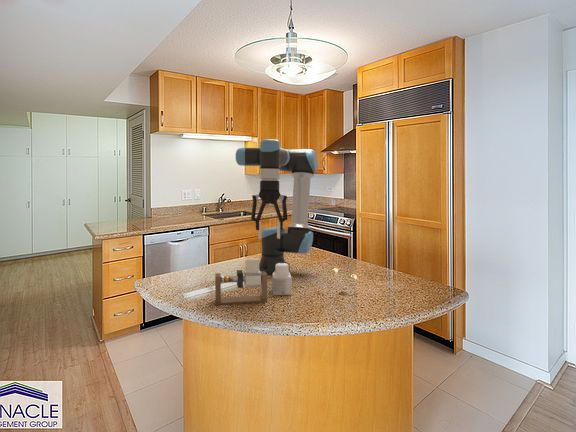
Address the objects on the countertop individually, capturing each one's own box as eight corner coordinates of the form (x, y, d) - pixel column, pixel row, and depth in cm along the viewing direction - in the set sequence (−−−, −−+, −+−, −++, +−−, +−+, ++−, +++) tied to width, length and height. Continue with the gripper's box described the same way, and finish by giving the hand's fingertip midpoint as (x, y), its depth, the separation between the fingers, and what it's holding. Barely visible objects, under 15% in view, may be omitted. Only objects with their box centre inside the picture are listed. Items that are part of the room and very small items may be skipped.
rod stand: (264, 296, 142) (265, 270, 141) (267, 302, 136) (267, 274, 135) (215, 299, 138) (215, 272, 137) (215, 305, 132) (215, 277, 131)
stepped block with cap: (259, 282, 141) (259, 257, 139) (260, 286, 135) (261, 260, 134) (244, 283, 139) (244, 257, 138) (245, 287, 134) (245, 261, 133)
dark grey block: (241, 283, 139) (241, 270, 138) (243, 287, 134) (243, 273, 133) (236, 283, 139) (236, 270, 138) (237, 288, 133) (237, 274, 133)
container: (272, 289, 152) (272, 260, 151) (289, 289, 153) (290, 260, 151) (273, 295, 144) (273, 264, 143) (291, 294, 145) (291, 264, 144)
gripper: (292, 180, 140) (291, 236, 142) (243, 179, 136) (243, 237, 138) (296, 180, 133) (295, 239, 135) (245, 179, 128) (244, 240, 131)
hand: (269, 238), depth 137 cm, fingers open, 7 cm apart
